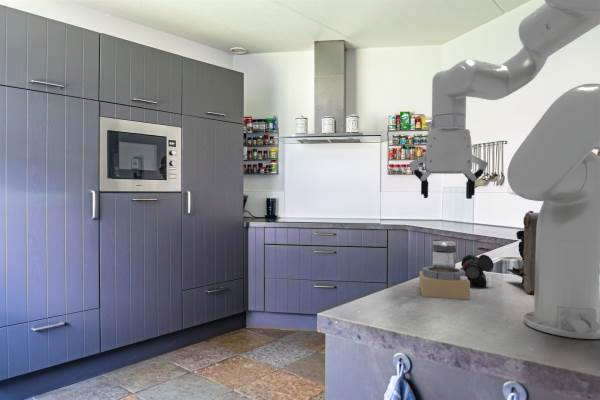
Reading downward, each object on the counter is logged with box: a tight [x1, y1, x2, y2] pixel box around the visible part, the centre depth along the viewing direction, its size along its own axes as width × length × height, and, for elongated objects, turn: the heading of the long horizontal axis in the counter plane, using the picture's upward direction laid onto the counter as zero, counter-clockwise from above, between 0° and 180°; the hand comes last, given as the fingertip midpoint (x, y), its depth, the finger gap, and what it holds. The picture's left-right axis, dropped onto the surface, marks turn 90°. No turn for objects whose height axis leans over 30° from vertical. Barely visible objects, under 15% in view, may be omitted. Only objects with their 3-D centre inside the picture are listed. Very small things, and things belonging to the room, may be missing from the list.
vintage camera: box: [506, 210, 540, 295], centre depth 105 cm, size 10×16×20 cm, turn 174°
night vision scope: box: [459, 254, 494, 289], centre depth 112 cm, size 8×18×10 cm
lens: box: [432, 240, 457, 273], centre depth 98 cm, size 5×5×8 cm
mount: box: [418, 265, 471, 300], centre depth 98 cm, size 10×10×6 cm
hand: (447, 198), depth 98 cm, fingers open, 9 cm apart
